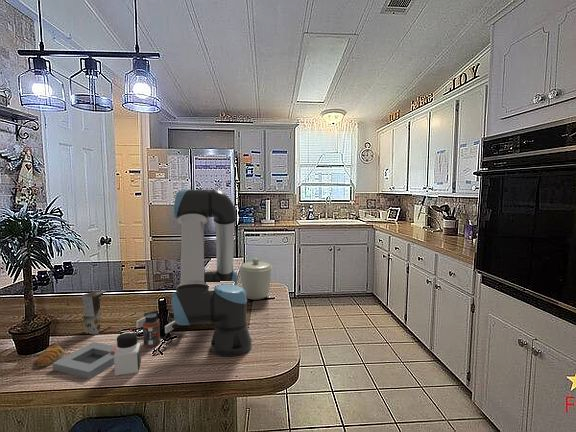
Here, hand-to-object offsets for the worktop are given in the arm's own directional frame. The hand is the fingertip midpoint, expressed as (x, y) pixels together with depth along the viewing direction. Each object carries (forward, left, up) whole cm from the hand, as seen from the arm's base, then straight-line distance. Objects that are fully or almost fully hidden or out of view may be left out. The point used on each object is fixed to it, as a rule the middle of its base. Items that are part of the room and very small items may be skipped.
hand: (151, 327), depth 134 cm
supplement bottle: (-1, 0, -7) cm, 7 cm away
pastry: (+25, +22, -7) cm, 34 cm away
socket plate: (+9, +18, -6) cm, 22 cm away
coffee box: (+29, -3, -7) cm, 30 cm away
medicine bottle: (-6, +18, -7) cm, 19 cm away
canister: (-16, -63, -7) cm, 65 cm away
